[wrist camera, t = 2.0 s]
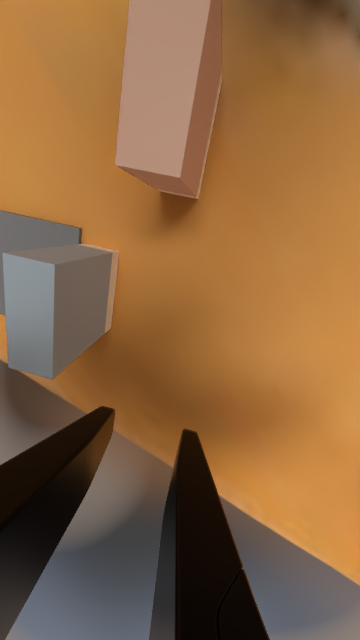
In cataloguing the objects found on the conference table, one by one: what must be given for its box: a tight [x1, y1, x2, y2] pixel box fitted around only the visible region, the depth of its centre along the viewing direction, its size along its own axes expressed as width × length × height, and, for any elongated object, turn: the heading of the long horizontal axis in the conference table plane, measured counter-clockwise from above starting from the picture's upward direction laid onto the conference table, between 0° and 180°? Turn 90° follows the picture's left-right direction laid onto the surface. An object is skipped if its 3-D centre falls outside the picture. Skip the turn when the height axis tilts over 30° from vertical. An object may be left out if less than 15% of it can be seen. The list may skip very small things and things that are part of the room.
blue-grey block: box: [2, 244, 119, 379], centre depth 16 cm, size 2×6×8 cm, turn 168°
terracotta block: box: [115, 0, 222, 199], centre depth 12 cm, size 2×6×8 cm, turn 169°
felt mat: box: [0, 210, 81, 315], centre depth 20 cm, size 8×8×1 cm
